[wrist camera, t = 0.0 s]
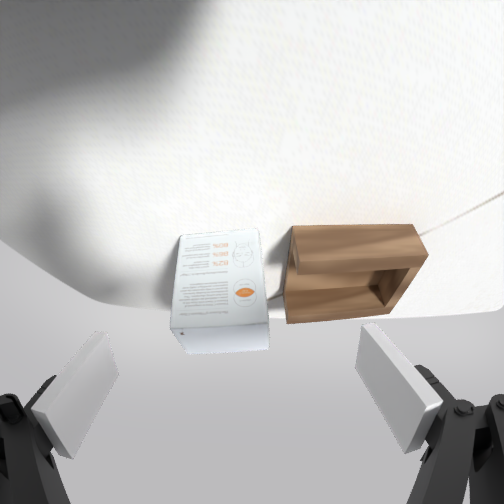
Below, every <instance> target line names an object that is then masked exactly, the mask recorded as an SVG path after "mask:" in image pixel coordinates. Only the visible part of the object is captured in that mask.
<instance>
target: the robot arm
mask: <svg viewBox="0 0 504 504" xmlns="http://www.w3.org/2000/svg"><path fill="white" fill-rule="evenodd" d="M355 369H356V370H357V372H358V374H359V375H360V377H361V379H362V380H363V382H364V384H365V385H366V387H367V389H368V391H369V392H370V394H371V396H372V398H373V399H374V401H375V403H376V404H377V406H378V408H379V410H380V411H381V413H382V415H383V417H384V418H385V420H386V422H387V424H388V425H389V427H390V429H391V431H392V432H393V434H394V436H395V438H396V440H397V441H398V443H399V445H400V447H401V449H402V451H403V452H404V454H406V453H409V452H412V451H415V450H417V449H420V448H421V446H422V444H423V442H424V440H426V441H427V443H428V444H429V446H428V448H427V450H426V451H425V453H424V455H423V457H422V458H421V460H420V461H423V462H422V465H421V468H420V470H419V473H418V476H417V479H416V481H415V484H414V487H413V489H412V492H411V494H410V497H409V499H408V501H407V504H462V502H463V499H464V494H465V490H466V486H467V481H468V477H469V486H470V504H504V394H498V395H495V396H493V397H492V398H491V400H490V402H489V404H488V405H484V406H477V407H475V406H474V405H473V404H472V403H471V402H469V401H466V400H456V399H454V397H453V396H452V395H451V394H450V392H449V391H448V390H447V389H446V388H445V387H444V386H443V385H442V384H441V383H439V380H438V379H437V378H436V377H434V375H433V374H432V373H431V371H430V370H429V369H427V368H425V367H423V366H422V365H416V366H413V365H412V364H411V362H410V361H409V360H408V359H407V358H406V357H405V356H404V354H403V353H402V352H401V351H400V350H399V349H398V348H397V347H396V346H395V345H394V343H393V342H392V341H391V340H390V339H389V338H388V337H387V335H386V334H385V333H384V332H383V331H382V330H381V329H380V328H379V327H378V326H377V325H376V323H369V324H362V326H361V334H360V341H359V347H358V353H357V359H356V365H355ZM118 375H119V373H118V370H117V366H116V363H115V360H114V356H113V353H112V349H111V345H110V341H109V338H108V334H107V332H94V334H93V335H92V336H91V337H90V338H89V339H88V340H87V341H86V343H85V344H84V345H83V346H82V347H81V348H80V349H79V351H78V352H77V353H76V354H75V355H74V356H73V358H72V359H71V360H70V361H69V362H68V363H67V365H66V366H65V367H64V368H63V369H62V370H61V372H60V373H59V374H58V375H57V376H56V375H54V376H52V377H51V378H49V379H48V380H46V381H45V383H44V384H43V385H42V386H41V388H40V389H39V390H38V391H37V393H35V395H34V396H33V397H32V398H31V400H30V401H29V402H28V403H27V404H26V406H25V407H24V408H23V407H22V405H21V403H20V401H19V399H18V397H17V396H16V395H14V394H4V395H2V396H0V504H70V501H69V499H68V496H67V494H66V491H65V489H64V486H63V483H62V481H61V478H60V475H59V472H58V469H57V467H56V463H55V460H54V457H53V455H52V454H51V452H50V451H51V449H52V448H53V447H54V448H55V450H56V451H57V453H58V454H59V455H60V456H64V457H66V458H70V459H74V457H75V455H76V453H77V451H78V449H79V447H80V445H81V443H82V441H83V439H84V437H85V436H86V434H87V432H88V430H89V428H90V426H91V424H92V422H93V420H94V419H95V417H96V415H97V413H98V411H99V409H100V408H101V406H102V404H103V402H104V400H105V398H106V397H107V395H108V393H109V391H110V389H111V388H112V386H113V384H114V382H115V381H116V379H117V377H118Z"/></svg>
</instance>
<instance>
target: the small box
mask: <svg viewBox="0 0 504 504" xmlns="http://www.w3.org/2000/svg"><path fill="white" fill-rule="evenodd" d="M170 330H171V331H172V333H173V334H174V336H175V337H176V338H177V340H178V341H179V343H180V344H181V346H182V347H183V348H184V350H185V351H186V352H187V354H203V353H226V352H241V351H254V350H267V349H269V347H270V346H269V345H270V339H269V338H270V337H269V315H268V307H267V298H266V288H265V278H264V269H263V260H262V251H261V242H260V233H259V229H258V228H253V229H242V230H231V231H220V232H210V233H200V234H191V235H182V236H181V237H180V242H179V249H178V257H177V265H176V273H175V281H174V289H173V298H172V306H171V317H170Z"/></svg>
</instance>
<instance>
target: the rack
mask: <svg viewBox="0 0 504 504" xmlns="http://www.w3.org/2000/svg"><path fill="white" fill-rule="evenodd" d="M427 257H428V253H427V251H426V249H425V247H424V245H423V243H422V241H421V239H420V237H419V235H418V233H417V231H416V230H415V228H414V226H413V224H383V225H313V226H293V227H292V234H291V241H290V248H289V255H288V262H287V269H286V276H285V283H284V289H283V298H284V306H285V314H286V321H287V324H295V323H307V322H320V321H331V320H341V319H350V318H359V317H368V316H376V315H384V314H389V313H390V312H391V311H392V309H393V308H394V306H395V305H396V304H397V302H398V301H399V299H400V298H401V297H402V295H403V294H404V292H405V291H406V289H407V288H408V286H409V285H410V283H411V282H412V280H413V279H414V277H415V276H416V274H417V273H418V271H419V270H420V268H421V267H422V265H423V263H424V262H425V260H426V259H427Z"/></svg>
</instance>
